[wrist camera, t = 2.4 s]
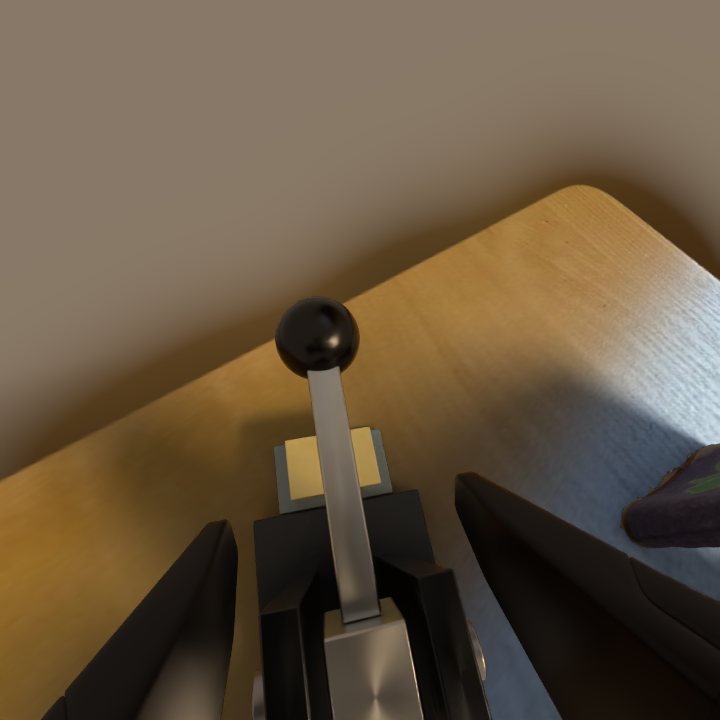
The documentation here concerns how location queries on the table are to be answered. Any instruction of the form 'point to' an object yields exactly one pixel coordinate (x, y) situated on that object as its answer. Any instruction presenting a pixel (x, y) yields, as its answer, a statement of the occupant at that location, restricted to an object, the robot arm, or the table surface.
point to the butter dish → (285, 479)
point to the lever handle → (348, 530)
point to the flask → (680, 506)
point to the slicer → (319, 595)
